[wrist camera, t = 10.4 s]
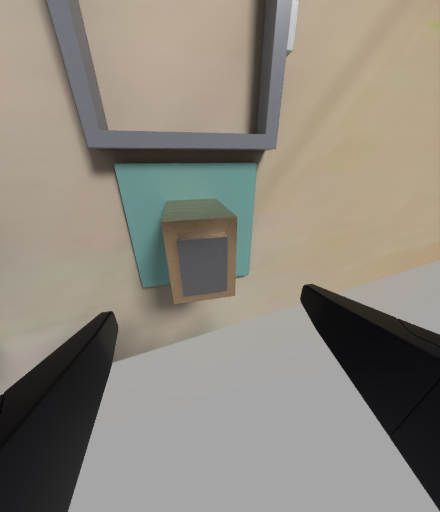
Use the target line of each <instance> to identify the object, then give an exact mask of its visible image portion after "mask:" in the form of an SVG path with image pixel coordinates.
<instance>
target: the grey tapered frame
mask: <svg viewBox="0 0 440 512" xmlns="http://www.w3.org/2000/svg"><path fill="white" fill-rule="evenodd" d="M47 3H48V6H49V10H50V14H51V17H52V21H53V24H54V28H55V31H56V35H57V39H58V42H59V46H60V49H61V53H62V56H63V60H64V63H65V67H66V71H67V74H68V78H69V81H70V85H71V88H72V92H73V96H74V99H75V103H76V106H77V110H78V113H79V117H80V120H81V124H82V128H83V131H84V135H85V138H86V142H87V145H88V147H89V148H94V149H116V150H272V149H276V143H277V134H278V125H279V116H280V107H281V98H282V89H283V80H284V71H285V62H286V57H287V56H288V55H289V54H290V53H291V52H292V51H293V44H294V36H295V27H296V19H297V11H298V3H299V0H266V3H265V17H264V32H263V46H262V61H261V75H260V90H259V105H258V119H257V134H234V133H192V132H149V131H108V127H107V123H106V119H105V114H104V110H103V106H102V101H101V97H100V93H99V88H98V84H97V80H96V75H95V71H94V67H93V62H92V58H91V53H90V49H89V45H88V40H87V36H86V32H85V27H84V23H83V19H82V14H81V10H80V6H79V1H78V0H47Z"/></svg>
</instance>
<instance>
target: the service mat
mask: <svg viewBox="0 0 440 512" xmlns="http://www.w3.org/2000/svg"><path fill="white" fill-rule="evenodd" d="M114 167H115V171H116V176H117V180H118V184H119V188H120V193H121V197H122V201H123V205H124V210H125V214H126V218H127V222H128V227H129V231H130V235H131V239H132V244H133V248H134V252H135V256H136V261H137V265H138V269H139V273H140V278H141V282H142V286H143V288H146V287H154V286H162V285H171V282H170V276H169V270H168V263H167V257H166V251H165V244H164V238H163V232H162V225H161V220H162V216H163V213H164V209H165V206H166V202H167V201H169V200H191V199H213V198H216V199H217V200H219V201H220V202H221V203H222V204H223V205H224V206H226V207H227V208H228V209H229V210H230V211H231V212H232V213H234V214H235V215H236V216H237V248H236V277H237V276H245V275H249V263H250V250H251V236H252V223H253V209H254V196H255V182H256V169H257V163H119V164H114Z"/></svg>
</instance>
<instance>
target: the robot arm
mask: <svg viewBox="0 0 440 512" xmlns="http://www.w3.org/2000/svg"><path fill="white" fill-rule="evenodd" d="M300 300H301V303H302V305H303V307H304V308H305V310H306V312H307V314H308V315H309V317H310V319H311V321H312V323H313V325H314V326H315V328H316V330H317V331H318V333H319V334H320V336H321V337H322V338H323V340H324V342H325V343H326V345H327V346H328V347H329V349H330V350H331V352H332V353H333V355H334V356H335V358H336V359H337V361H338V362H339V363H340V365H341V367H342V368H343V369H344V371H345V372H346V374H347V375H348V377H349V378H350V380H351V381H352V382H353V384H354V385H355V387H356V388H357V390H358V391H359V393H360V394H361V396H362V397H363V399H364V400H365V402H366V403H367V405H368V406H369V408H370V409H371V410H372V412H373V413H374V415H375V416H376V418H377V419H378V421H379V422H380V424H381V425H382V427H383V428H384V430H385V431H386V432H387V434H388V435H389V437H390V438H391V440H392V441H393V443H394V445H395V446H396V447H397V449H398V450H399V452H400V453H401V455H402V456H403V458H404V459H405V461H406V462H407V464H408V465H409V467H410V468H411V469H412V471H413V472H414V474H415V475H416V477H417V478H418V480H419V481H420V483H421V484H422V486H423V487H424V489H425V490H426V492H427V493H428V494H429V496H430V497H431V499H432V500H433V502H434V503H435V505H436V506H437V508H438V509H439V511H440V334H437V333H434V332H431V331H429V330H426V329H423V328H421V327H418V326H416V325H413V324H411V323H408V322H406V321H403V320H401V319H397V318H395V317H393V316H390V315H388V314H385V313H383V312H381V311H378V310H375V309H373V308H371V307H368V306H366V305H363V304H361V303H358V302H356V301H353V300H351V299H348V298H346V297H343V296H341V295H338V294H336V293H333V292H331V291H328V290H326V289H323V288H321V287H318V286H316V285H314V284H307V285H304V286H303V289H302V293H301V297H300ZM117 334H118V324H117V321H116V318H115V315H114V313H113V312H112V311H108V312H102V313H100V314H99V315H98V316H97V317H95V318H94V319H93V320H92V321H90V322H89V323H88V324H87V325H86V326H84V327H83V328H82V329H81V330H79V331H78V332H77V333H76V334H75V335H73V336H72V337H71V338H70V339H68V340H67V341H66V342H65V343H64V344H62V345H61V346H60V347H59V348H58V349H56V350H55V351H54V352H53V353H51V354H50V355H49V356H48V357H47V358H45V359H44V360H43V361H42V362H40V363H39V364H38V365H37V366H36V367H34V368H33V369H32V370H31V371H29V372H28V373H27V374H26V375H25V376H23V377H22V378H21V379H20V380H19V381H17V382H16V383H15V384H14V385H12V386H11V387H10V388H9V389H8V390H6V391H5V392H4V394H2V395H0V512H68V509H69V506H70V503H71V499H72V496H73V492H74V489H75V486H76V483H77V479H78V476H79V473H80V469H81V466H82V463H83V459H84V456H85V453H86V449H87V446H88V443H89V439H90V436H91V433H92V429H93V426H94V423H95V420H96V416H97V413H98V409H99V406H100V403H101V400H102V396H103V393H104V389H105V386H106V383H107V380H108V376H109V373H110V369H111V366H112V361H113V355H114V350H115V345H116V339H117Z"/></svg>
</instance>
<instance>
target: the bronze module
mask: <svg viewBox="0 0 440 512" xmlns="http://www.w3.org/2000/svg"><path fill="white" fill-rule="evenodd" d="M161 225H162V232H163V238H164V244H165V251H166V257H167V263H168V270H169V276H170V282H171V289H172V295H173V302H174V304H180V303H187V302H194V301H201V300H208V299H215V298H222V297H229V296H235V280H236V248H237V216H236V215H235V214H234V213H232V212H231V211H230V210H229V209H228V208H227V207H226V206H224V205H223V204H222V203H221V202H220V201H219V200H217V199H216V198H213V199H191V200H169V201H167V202H166V206H165V209H164V213H163V216H162V220H161Z"/></svg>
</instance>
